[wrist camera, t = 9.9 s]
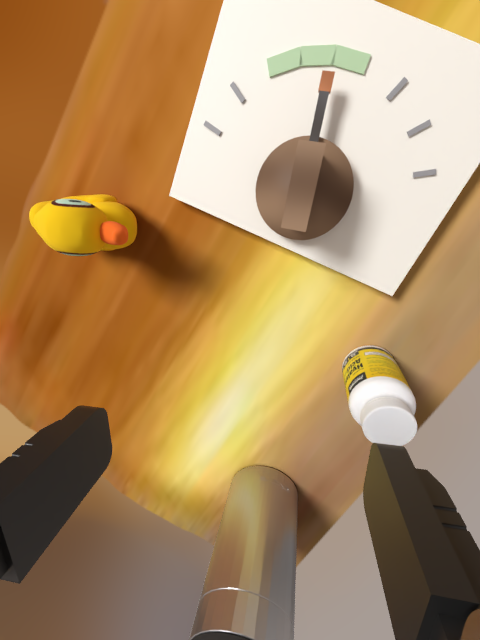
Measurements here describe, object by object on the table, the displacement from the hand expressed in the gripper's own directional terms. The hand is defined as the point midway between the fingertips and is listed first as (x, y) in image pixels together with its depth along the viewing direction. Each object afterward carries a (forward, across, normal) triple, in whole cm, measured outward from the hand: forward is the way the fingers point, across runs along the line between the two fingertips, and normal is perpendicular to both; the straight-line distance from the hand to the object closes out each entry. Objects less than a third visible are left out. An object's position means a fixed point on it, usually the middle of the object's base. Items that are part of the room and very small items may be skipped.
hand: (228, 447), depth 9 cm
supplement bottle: (+24, -10, +8) cm, 28 cm away
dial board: (+23, -4, -12) cm, 27 cm away
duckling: (+24, +17, -6) cm, 31 cm away
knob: (+22, -2, -11) cm, 24 cm away
